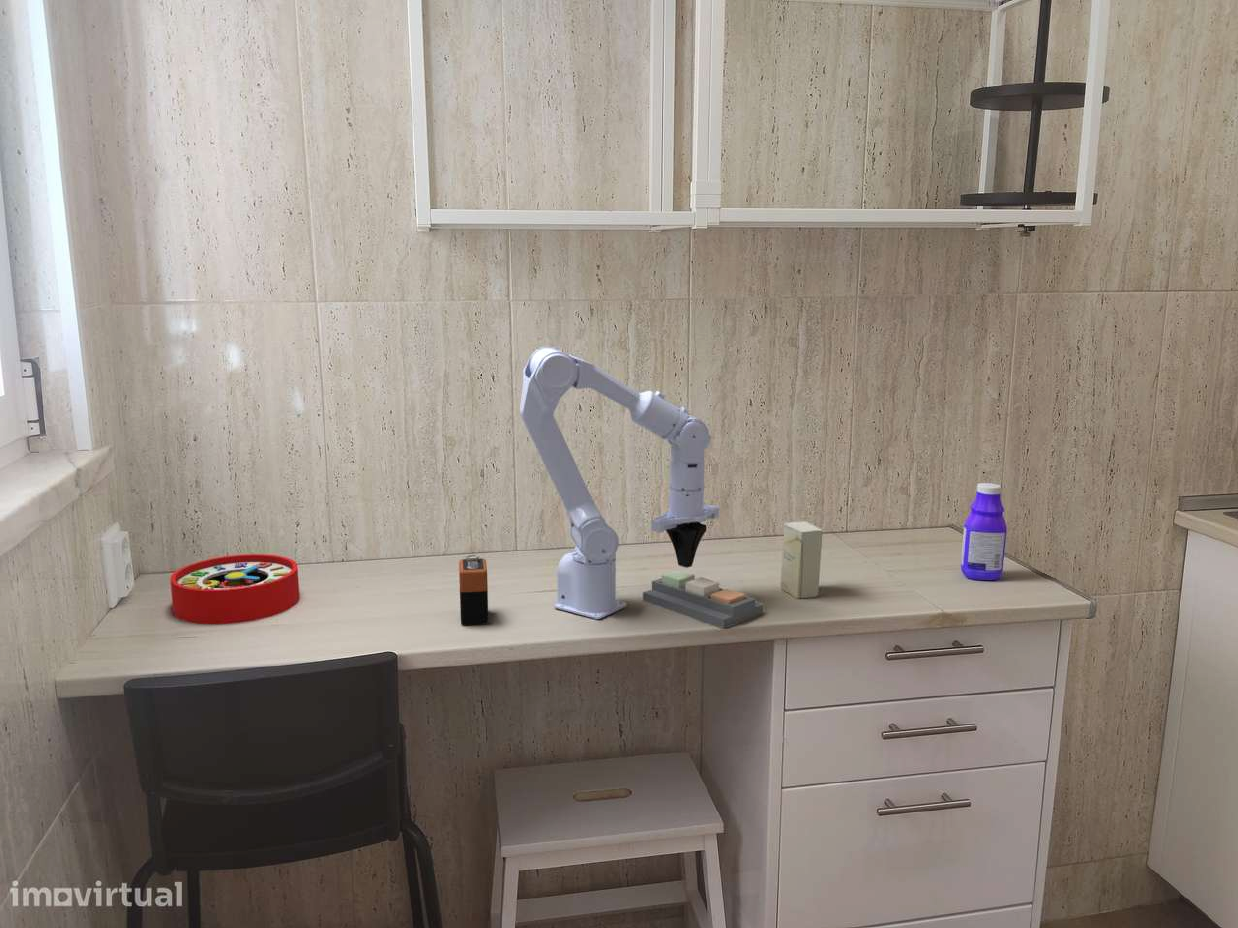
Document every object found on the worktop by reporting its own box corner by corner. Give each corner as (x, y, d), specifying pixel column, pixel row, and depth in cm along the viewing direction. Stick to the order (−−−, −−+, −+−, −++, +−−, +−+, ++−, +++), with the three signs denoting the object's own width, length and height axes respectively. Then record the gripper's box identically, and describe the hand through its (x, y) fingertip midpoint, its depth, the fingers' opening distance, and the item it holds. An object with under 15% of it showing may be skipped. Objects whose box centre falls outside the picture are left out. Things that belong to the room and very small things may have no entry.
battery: (487, 610, 164) (485, 552, 162) (488, 624, 157) (487, 564, 155) (460, 611, 163) (458, 553, 161) (461, 626, 156) (459, 566, 154)
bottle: (997, 572, 184) (1004, 481, 181) (1005, 582, 179) (1013, 488, 175) (957, 571, 185) (964, 480, 181) (964, 581, 179) (971, 487, 176)
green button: (661, 583, 169) (661, 574, 168) (677, 578, 172) (677, 569, 171) (678, 589, 166) (678, 580, 166) (694, 583, 169) (694, 575, 168)
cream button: (685, 591, 165) (685, 582, 165) (701, 586, 168) (701, 577, 167) (703, 597, 162) (703, 587, 162) (719, 591, 165) (719, 582, 165)
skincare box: (779, 588, 175) (782, 522, 172) (801, 585, 176) (804, 520, 174) (798, 599, 169) (801, 531, 167) (820, 596, 171) (823, 529, 168)
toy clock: (142, 584, 159) (224, 549, 178) (145, 618, 160) (226, 580, 179) (248, 596, 153) (321, 559, 172) (250, 631, 155) (323, 591, 173)
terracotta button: (710, 603, 161) (710, 594, 161) (726, 597, 164) (726, 588, 164) (729, 609, 158) (729, 600, 158) (744, 603, 161) (745, 594, 161)
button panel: (642, 600, 168) (643, 583, 168) (682, 587, 175) (682, 571, 175) (723, 628, 156) (724, 610, 155) (763, 613, 162) (763, 595, 162)
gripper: (674, 498, 156) (672, 580, 159) (733, 485, 166) (731, 562, 169) (642, 490, 161) (641, 570, 164) (702, 478, 171) (700, 553, 174)
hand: (685, 565), depth 167 cm, fingers closed
